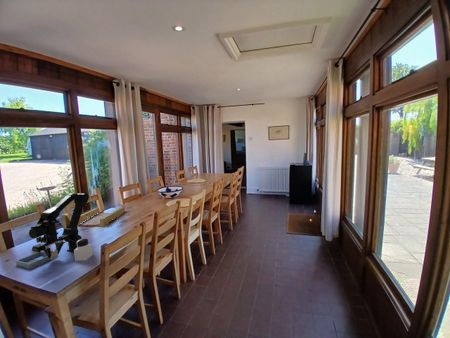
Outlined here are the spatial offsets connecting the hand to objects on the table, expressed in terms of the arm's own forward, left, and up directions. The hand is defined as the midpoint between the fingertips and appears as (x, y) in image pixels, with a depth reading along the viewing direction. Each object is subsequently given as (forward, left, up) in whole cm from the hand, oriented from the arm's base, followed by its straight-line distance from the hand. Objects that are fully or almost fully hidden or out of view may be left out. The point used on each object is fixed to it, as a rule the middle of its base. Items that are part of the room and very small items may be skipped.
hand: (53, 256), depth 137 cm
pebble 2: (0, 0, -1) cm, 1 cm away
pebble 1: (+22, -2, -3) cm, 22 cm away
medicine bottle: (-15, -9, -4) cm, 17 cm away
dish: (+11, +4, -3) cm, 12 cm away
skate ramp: (+41, -63, -4) cm, 75 cm away
